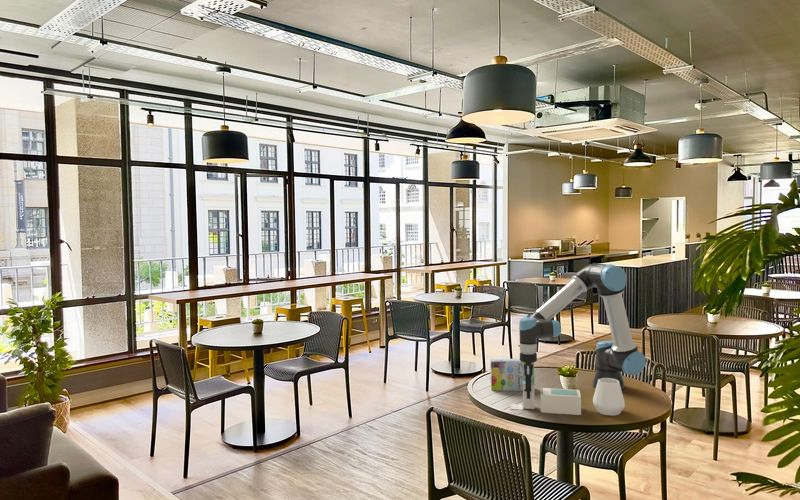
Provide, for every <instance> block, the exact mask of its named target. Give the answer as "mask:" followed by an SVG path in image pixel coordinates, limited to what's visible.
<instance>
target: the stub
mask: <svg viewBox="0 0 800 500" xmlns="http://www.w3.org/2000/svg"><path fill="white" fill-rule="evenodd" d="M525 389H526V387H525V381H523V391H522V405H523V409H527V410H529V409H530V410H534V409H535V405H536V404H535V381H534V382H533V381H531V390H532V406H529V405H526V404H525V391H524V390H525Z"/></svg>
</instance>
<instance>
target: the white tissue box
mask: <svg viewBox="0 0 800 500" xmlns="http://www.w3.org/2000/svg"><path fill="white" fill-rule="evenodd" d="M580 390H581V389H569V388H567V389H566V388H549V387H540V413H541V412H542V413H543V414H559V415H574V416H575V415H576V416H582V396H581V391H580Z"/></svg>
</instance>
